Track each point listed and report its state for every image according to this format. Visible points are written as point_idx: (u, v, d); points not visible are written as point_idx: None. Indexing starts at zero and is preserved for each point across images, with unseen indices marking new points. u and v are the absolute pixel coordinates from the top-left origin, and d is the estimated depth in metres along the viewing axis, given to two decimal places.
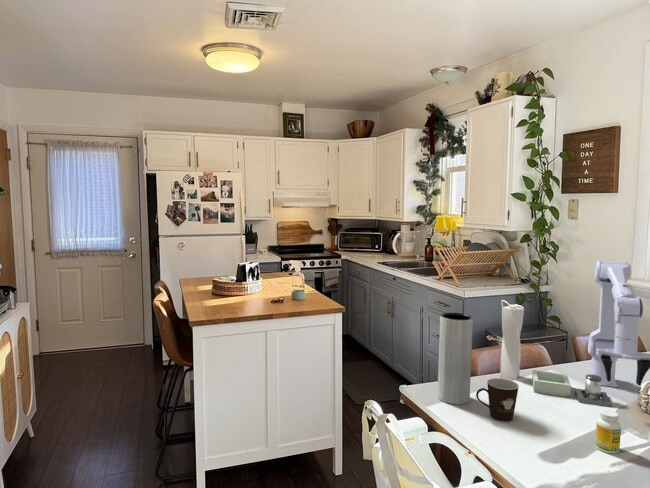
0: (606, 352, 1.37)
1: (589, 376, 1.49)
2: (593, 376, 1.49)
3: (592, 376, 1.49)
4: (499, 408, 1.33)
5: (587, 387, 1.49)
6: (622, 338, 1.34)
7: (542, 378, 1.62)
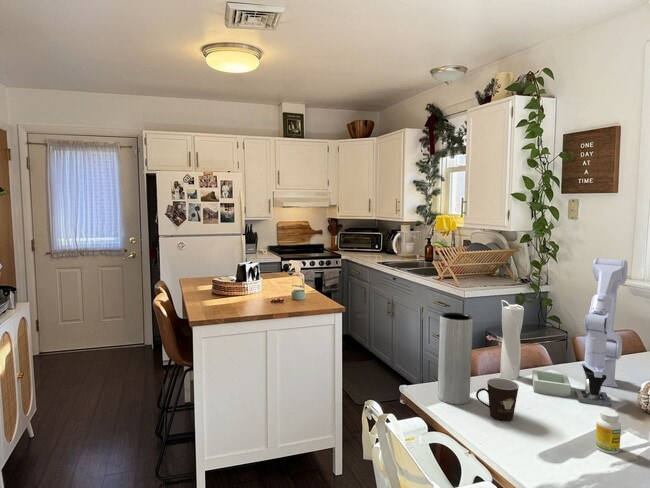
0: None
1: None
2: None
3: None
4: (499, 408, 1.33)
5: (587, 387, 1.48)
6: (588, 350, 1.47)
7: (542, 378, 1.62)
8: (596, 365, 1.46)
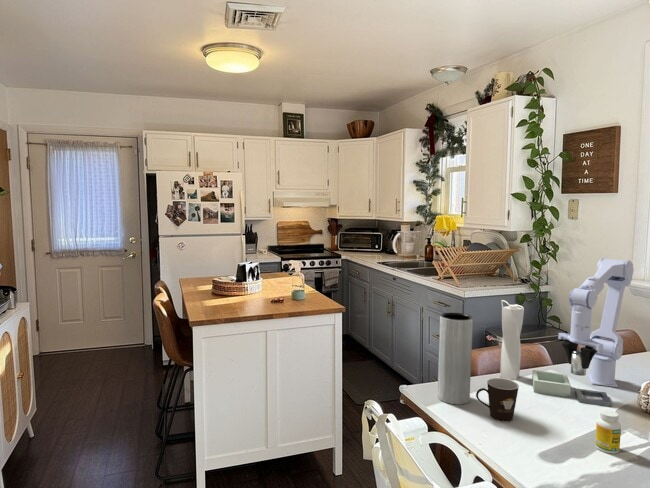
0: (563, 336, 1.55)
1: (577, 351, 1.50)
2: (577, 350, 1.52)
3: (578, 351, 1.51)
4: (499, 408, 1.33)
5: (578, 363, 1.49)
6: (572, 324, 1.50)
7: (542, 378, 1.62)
8: (588, 339, 1.48)
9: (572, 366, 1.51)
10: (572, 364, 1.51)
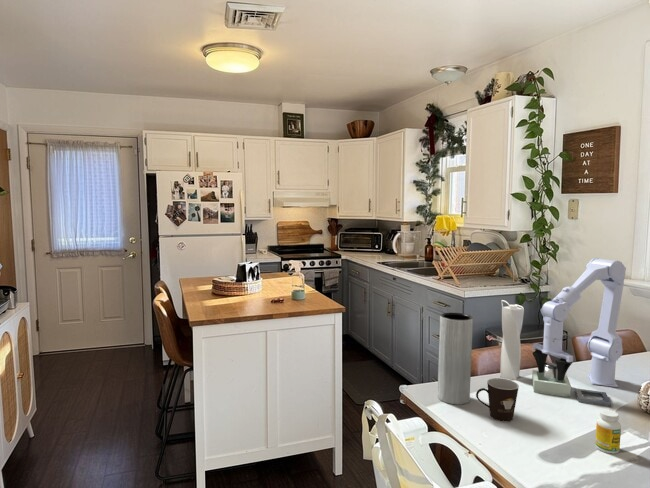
0: (537, 347, 1.60)
1: (549, 365, 1.56)
2: (550, 363, 1.58)
3: (550, 364, 1.57)
4: (499, 408, 1.33)
5: (549, 376, 1.55)
6: None
7: (542, 378, 1.62)
8: (559, 350, 1.54)
9: (544, 379, 1.57)
10: (544, 377, 1.57)
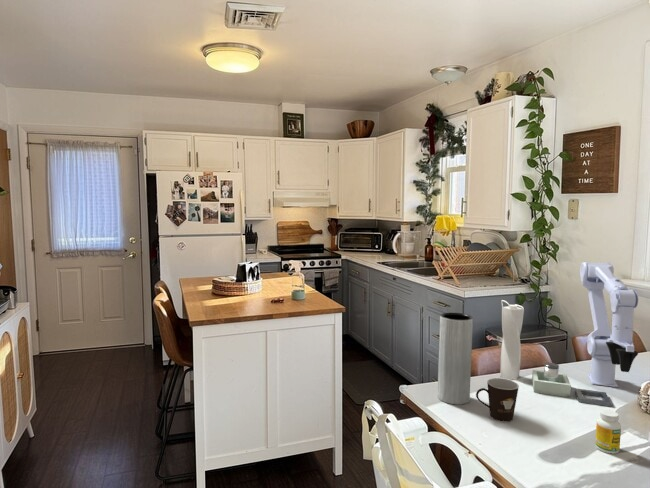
0: (611, 336, 1.55)
1: (549, 365, 1.56)
2: (550, 363, 1.58)
3: (550, 364, 1.57)
4: (499, 408, 1.33)
5: (549, 376, 1.55)
6: (620, 327, 1.47)
7: (542, 378, 1.62)
8: (625, 340, 1.47)
9: (544, 379, 1.57)
10: (544, 377, 1.57)
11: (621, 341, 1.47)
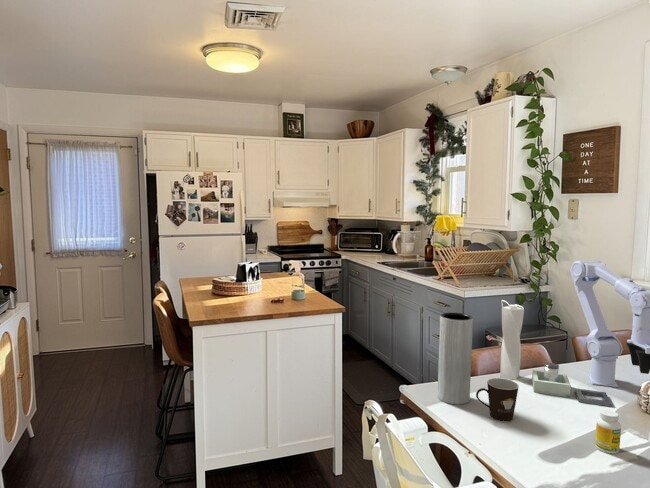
0: None
1: (549, 365, 1.56)
2: (550, 363, 1.58)
3: (550, 364, 1.57)
4: (499, 408, 1.33)
5: (549, 376, 1.55)
6: (646, 329, 1.45)
7: (542, 378, 1.62)
8: (645, 342, 1.46)
9: (544, 379, 1.57)
10: (544, 377, 1.57)
11: (641, 343, 1.46)
